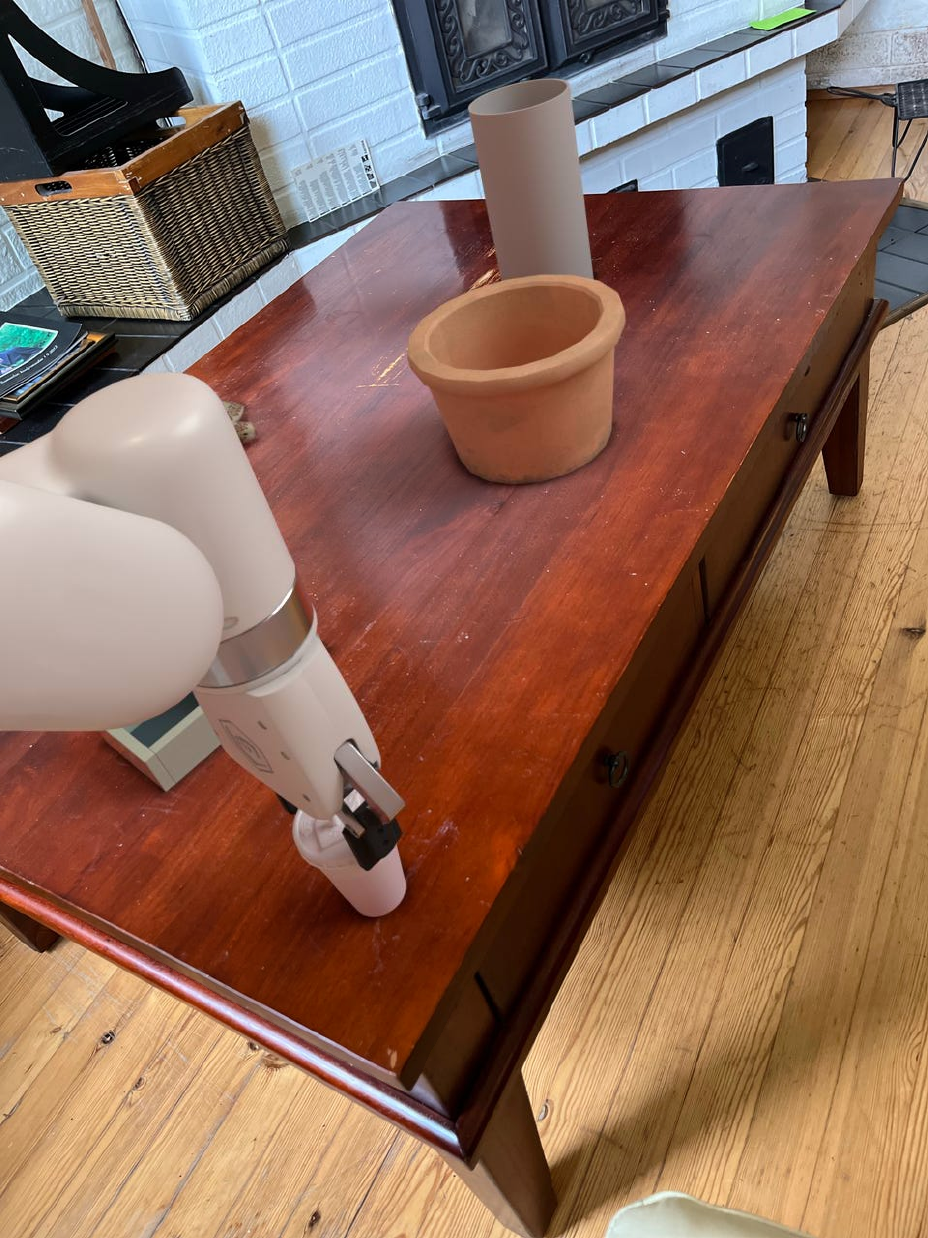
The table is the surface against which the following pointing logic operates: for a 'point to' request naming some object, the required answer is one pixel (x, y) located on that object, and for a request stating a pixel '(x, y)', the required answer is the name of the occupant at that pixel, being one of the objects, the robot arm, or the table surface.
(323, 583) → the table surface
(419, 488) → the table surface
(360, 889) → the smoothie
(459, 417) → the pottery
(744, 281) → the table surface
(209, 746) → the divided open box
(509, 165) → the cylinder vase
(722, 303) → the table surface
